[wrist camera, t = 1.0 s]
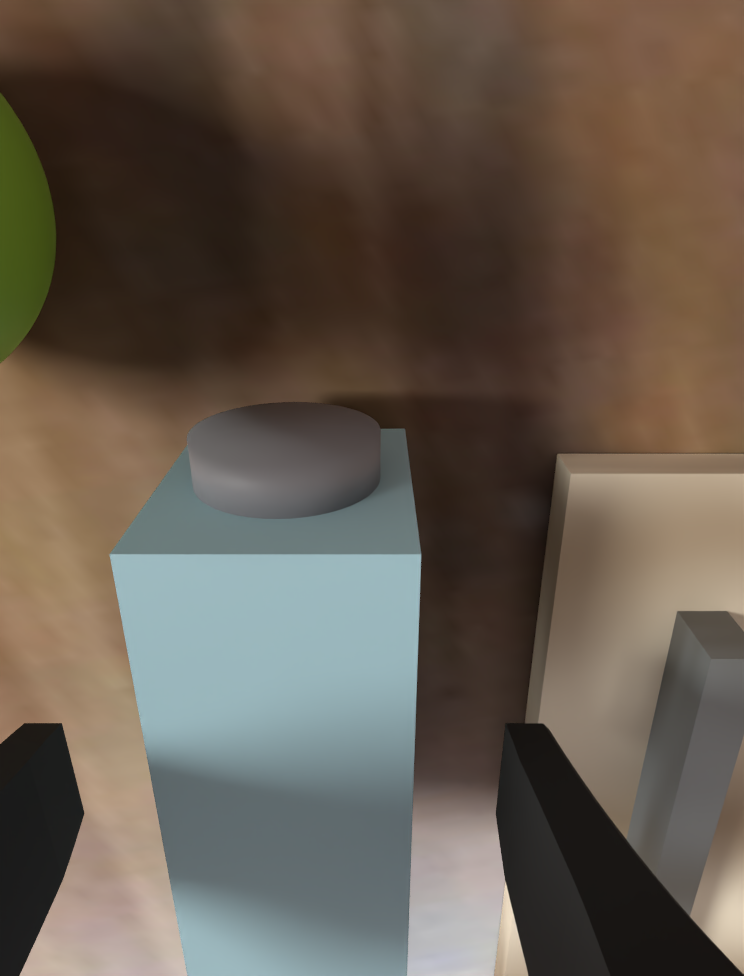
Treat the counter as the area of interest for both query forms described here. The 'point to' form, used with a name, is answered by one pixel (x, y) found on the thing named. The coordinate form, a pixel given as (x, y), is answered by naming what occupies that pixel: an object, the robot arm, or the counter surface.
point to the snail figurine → (22, 232)
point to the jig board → (650, 669)
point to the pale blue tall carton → (281, 687)
